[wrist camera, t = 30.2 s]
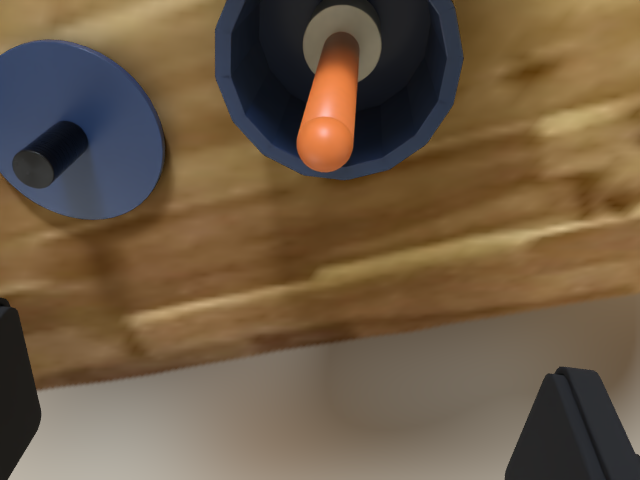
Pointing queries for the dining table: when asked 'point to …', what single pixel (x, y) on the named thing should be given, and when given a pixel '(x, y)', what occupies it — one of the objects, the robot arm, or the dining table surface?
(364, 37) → the brush
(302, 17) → the tin
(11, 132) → the tin lid
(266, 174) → the dining table surface
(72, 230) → the dining table surface
